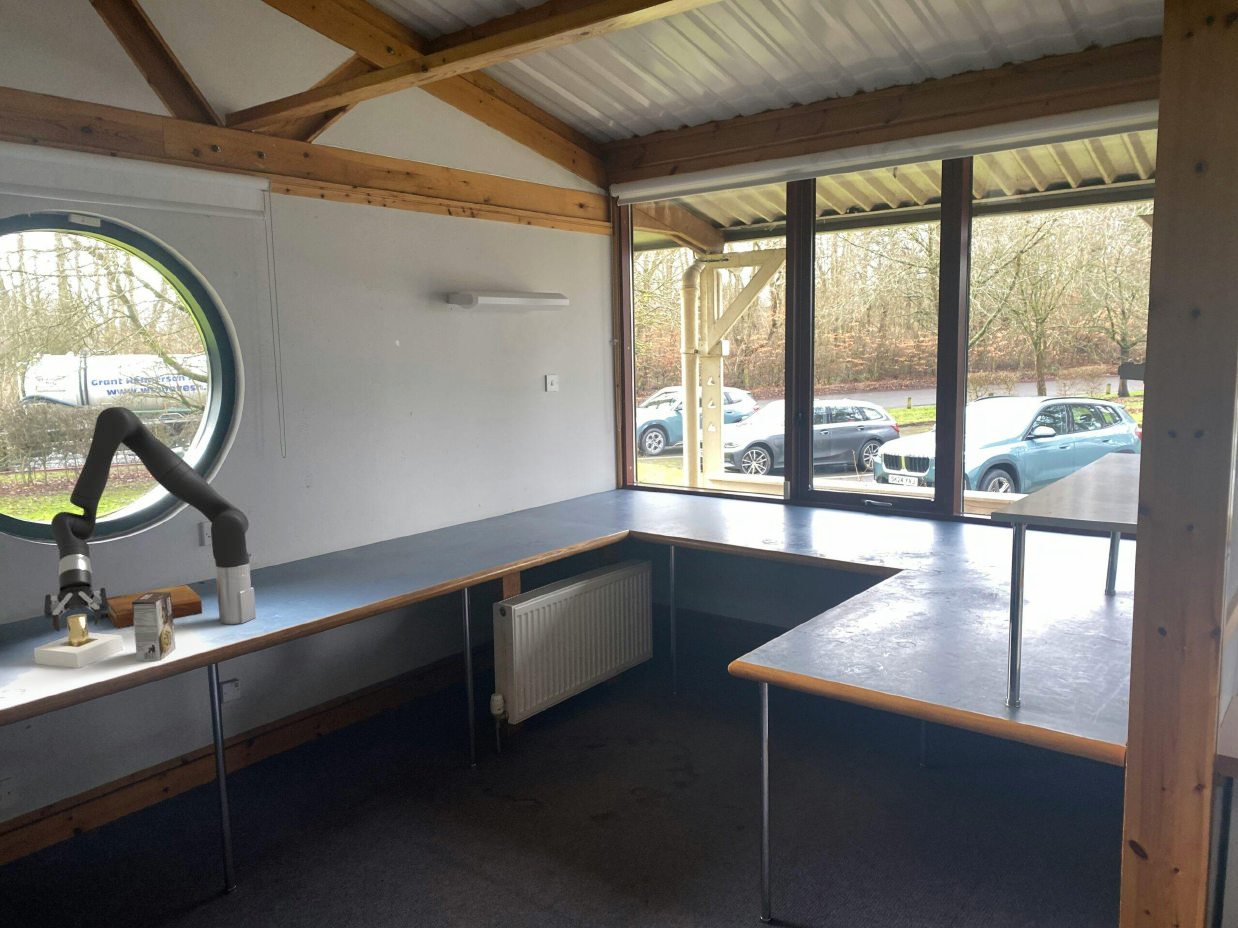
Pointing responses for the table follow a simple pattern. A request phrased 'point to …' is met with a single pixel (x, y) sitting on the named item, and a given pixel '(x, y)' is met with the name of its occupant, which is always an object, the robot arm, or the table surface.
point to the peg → (77, 630)
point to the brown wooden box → (181, 596)
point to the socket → (78, 651)
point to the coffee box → (153, 626)
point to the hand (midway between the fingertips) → (77, 627)
